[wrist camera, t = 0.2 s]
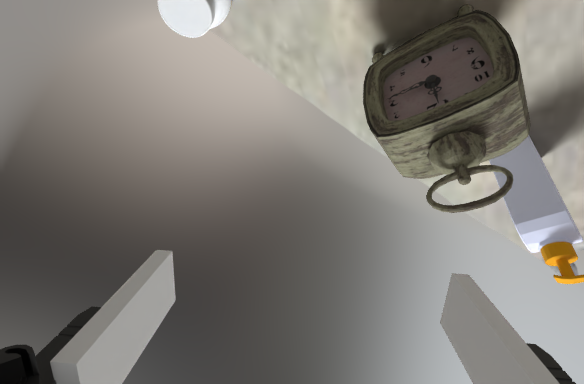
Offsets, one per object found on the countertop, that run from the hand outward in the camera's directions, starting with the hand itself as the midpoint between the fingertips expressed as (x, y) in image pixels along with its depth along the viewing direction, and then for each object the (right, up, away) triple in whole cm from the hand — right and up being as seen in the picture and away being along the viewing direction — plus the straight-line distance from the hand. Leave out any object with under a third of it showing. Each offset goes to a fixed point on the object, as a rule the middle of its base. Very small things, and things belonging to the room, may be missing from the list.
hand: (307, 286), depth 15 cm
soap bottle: (+37, +11, +40) cm, 56 cm away
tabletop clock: (+17, +23, +27) cm, 39 cm away
